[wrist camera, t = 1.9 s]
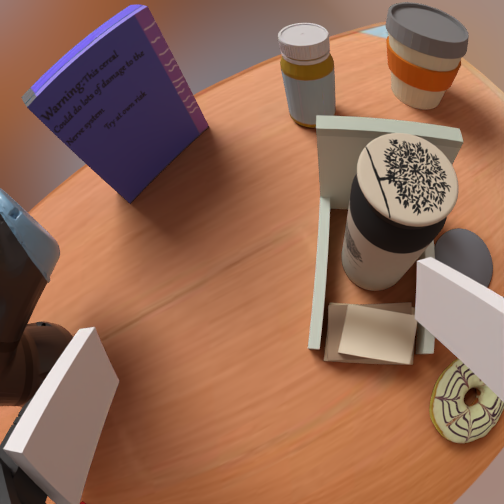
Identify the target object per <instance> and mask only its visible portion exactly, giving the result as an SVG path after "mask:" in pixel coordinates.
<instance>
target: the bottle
mask: <svg viewBox="0 0 504 504" xmlns="http://www.w3.org/2000/svg"><path fill="white" fill-rule="evenodd" d="M278 40H279V45H280V49H281V54H282V58H281V62H280V64H281V71H282V76H283V81H284V86H285V92H286V97H287V102H288V107H289V112H290V116H291V118H292V119H293V120H294V121H295V122H296V123H298V124H300V125H302V126H305V127H310V128H313V127H316V115H321V116H334V115H335V74H334V61H333V58H332V56H331V54H330V48H329V47H330V45H329V34H328V32H327V30H326V29H325V28H324V27H322V26H320V25H316V24H312V23H297V24H293V25H289V26H287V27H285V28H283V29H282V30H281V31H280V32H279V34H278Z"/></svg>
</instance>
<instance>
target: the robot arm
mask: <svg viewBox="0 0 504 504" xmlns="http://www.w3.org/2000/svg"><path fill="white" fill-rule="evenodd" d="M59 256H60V249H59V245H58V243H57V241H56V240H55V239H54V238H53V237H52V236H51V235H50V234H49V233H48V232H47V231H46V230H45V229H44V228H43V227H42V226H41V225H40V224H39V223H38V222H37V221H36V220H35V219H34V218H33V217H32V216H30V215H29V214H28V213H27V212H26V211H25V210H24V209H23V208H22V207H21V206H20V205H19V204H18V203H17V202H15V201H14V200H13V199H12V198H11V197H10V196H9V195H8V194H7V193H6V192H4V191H3V190H2V189H0V406H20V407H22V409H21V411H20V412H19V414H18V417H16V419H15V421H14V422H13V424H14V425H12V426H11V427H10V429H9V431H8V433H7V434H6V436H5V438H4V440H3V441H2V443H1V445H0V504H46V503H45V501H46V498H47V496H48V497H49V498H50V499H51V500H53V501H54V502H55V503H56V504H80V500H81V496H82V493H83V489H84V486H85V482H86V479H87V475H88V472H89V469H90V466H91V462H92V459H93V456H94V453H95V450H96V447H97V444H98V441H99V438H100V435H101V432H102V429H103V426H104V423H105V420H106V417H107V414H108V411H109V409H110V406H111V403H112V400H113V397H114V395H115V392H116V389H117V387H118V384H119V379H118V377H117V375H116V373H115V371H114V369H113V367H112V365H111V363H110V360H109V358H108V356H107V354H106V352H105V349H104V347H103V345H102V343H101V340H100V338H99V336H98V333H97V331H96V328H95V327H91V328H84V329H79V330H78V332H77V333H76V335H75V336H74V337H72V336H71V334H70V333H69V332H68V331H67V330H66V329H65V328H63V327H62V326H60V325H57V324H54V323H50V322H37V323H31V324H27V323H28V321H29V319H30V317H31V315H32V313H33V310H34V308H35V306H36V304H37V302H38V300H39V298H40V296H41V294H42V292H43V290H44V288H45V286H46V284H47V283H49V282H50V276H51V274H52V272H53V269H54V267H55V265H56V263H57V261H58V259H59ZM415 319H416V320H417V321H418V322H419V323H420V324H421V325H422V326H423V327H425V328H426V329H427V330H428V331H429V332H430V333H431V334H432V335H433V336H435V337H436V338H437V339H438V340H439V341H440V342H441V343H442V344H443V345H444V346H446V347H447V348H448V349H449V350H450V351H451V352H452V353H453V354H454V355H455V356H456V357H457V358H458V359H460V360H461V361H462V362H463V363H464V364H465V365H466V366H467V367H468V368H469V369H470V370H471V371H472V372H473V373H474V374H475V375H476V376H477V377H478V378H480V379H481V380H482V381H483V382H484V383H485V384H486V385H487V386H488V387H489V388H490V389H491V390H492V391H493V392H494V393H495V394H496V395H497V396H498V397H499V398H500V399H501V400H502V401H503V402H504V297H502V296H500V295H498V294H497V293H495V292H493V291H492V290H490V289H488V288H486V287H485V286H483V285H481V284H479V283H478V282H476V281H474V280H472V279H471V278H469V277H467V276H465V275H463V274H462V273H460V272H458V271H456V270H454V269H452V268H451V267H449V266H447V265H445V264H443V263H441V262H439V261H438V260H436V259H434V258H432V257H429V258H425V259H422V260H418V261H417V282H416V304H415Z"/></svg>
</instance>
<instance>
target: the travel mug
mask: <svg viewBox="0 0 504 504" xmlns="http://www.w3.org/2000/svg"><path fill="white" fill-rule="evenodd" d="M457 197H458V180H457V176H456V173H455V170H454V168H453V166H452V164H451V163H450V161H449V160H448V158H447V157H446V156H445V155H444V154H443V152H442V151H441V150H439V149H438V148H437V147H436V146H435V145H433V144H432V143H430V142H428V141H427V140H425V139H423V138H420V137H418V136H415V135H411V134H405V133H391V134H386V135H382V136H380V137H378V138H376V139H374V140H372V141H371V142H370V143H369V144H368V145H367V146H366V147H365V148H364V149H363V151H362V152H361V154H360V156H359V159H358V163H357V173H356V175H355V177H354V179H353V182H352V185H351V193H350V200H349V208H348V215H347V222H346V229H345V236H344V242H343V248H342V265H343V268H344V270H345V273H346V274H347V276H348V277H349V278H350V280H351V281H352V282H353V283H355V284H356V285H358V286H359V287H361V288H363V289H366V290H371V291H380V290H385V289H387V288H390V287H391V286H393V285H394V284H396V283H397V282H398V281H399V280H400V278H401V277H402V276H403V275H404V274H405V273H406V272H407V271H408V269H409V268H410V267H411V266H412V265H413V264H414V262H415V261H416V260H417V259H418V258H419V257H420V255H421V254H422V253H423V252H424V251H425V249H426V248H427V247H428V246H429V245H430V243H431V242H432V241H433V240H434V238H435V237H436V236H437V235H438V233H439V232H440V231H441V229H442V228H443V226H444V224H445V221H446V218H447V216H448V215H449V213H450V212H451V211H452V209H453V208H454V206H455V204H456V201H457Z"/></svg>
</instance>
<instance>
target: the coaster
mask: <svg viewBox="0 0 504 504" xmlns="http://www.w3.org/2000/svg"><path fill="white" fill-rule="evenodd" d="M434 252H435V259H436V260H438V261H439V262H441V263H443V264H445V265H447V266H449V267H451V268H452V269H454V270H456V271H458V272H460V273H462V274H463V275H465V276H467V277H469V278H471V279H472V280H474V281H476V282H478V283H479V284H481V285H483V286H485V287H486V288H487V287H488V285H489V283H490V281H491V277H492V271H493V265H492V258H491V255H490V252H489V250H488V248H487V246H486V244H485V243H484V242H483V240H482V239H481V238H480V237H479V236H477V235H476V234H475V233H473V232H471V231H469V230H466V229H452V230H450V231H447V232H446V233H444V234H443V235H442V236H441V237H440V238H439V240H438V241H437V243H436V244H435V247H434Z"/></svg>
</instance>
